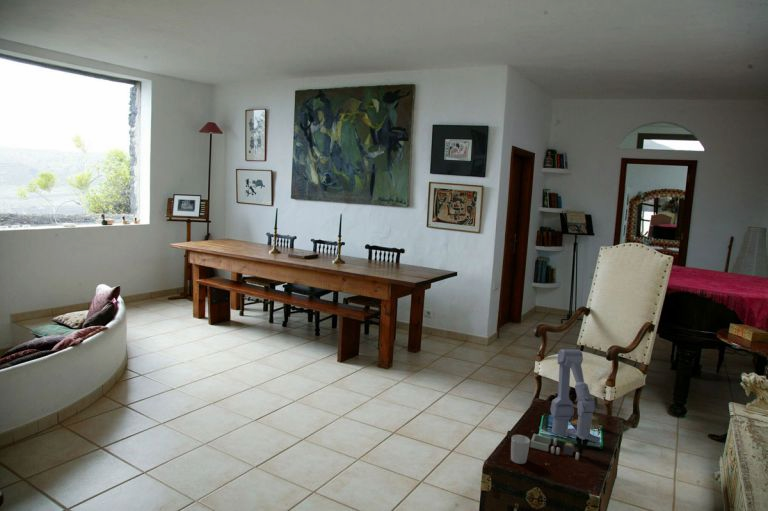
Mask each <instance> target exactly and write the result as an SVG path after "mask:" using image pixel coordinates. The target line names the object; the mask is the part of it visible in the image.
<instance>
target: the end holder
mask: <svg viewBox="0 0 768 511" xmlns="http://www.w3.org/2000/svg"><path fill="white" fill-rule="evenodd" d="M551 442H552V437H549V436H545V435H541V434H538V433H537V434H536V433H533V435H532V438H531V439H530V444H529V448H532V449H537V450H539V451H544V452H549V446H550V445H551Z"/></svg>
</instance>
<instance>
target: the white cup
mask: <svg viewBox="0 0 768 511" xmlns="http://www.w3.org/2000/svg"><path fill="white" fill-rule="evenodd" d="M510 441H511V442H510V460H511V461H512V462H513V463H515V464H518V465H524V464H526V463H527V460H528V454H529V448H530V443H531V439H530V438H529V437H528V436H526V435H522V434H514V435H512V436H511V440H510Z"/></svg>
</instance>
